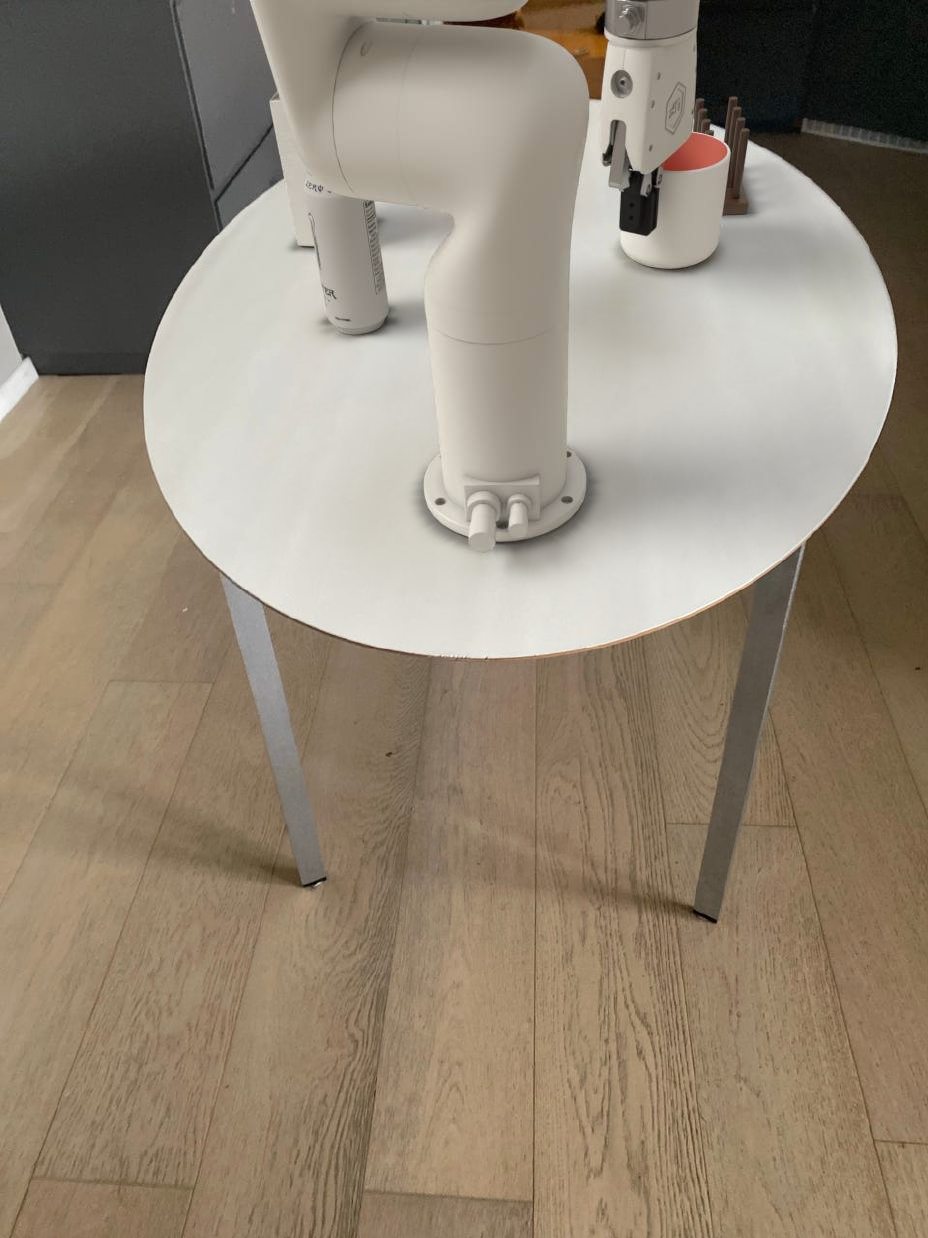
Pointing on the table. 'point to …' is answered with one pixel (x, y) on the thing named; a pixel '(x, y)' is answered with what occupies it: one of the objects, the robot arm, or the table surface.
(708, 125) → the dish rack
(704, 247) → the cup
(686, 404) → the table surface
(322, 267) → the energy drink can
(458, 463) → the robot arm
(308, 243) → the milk carton
